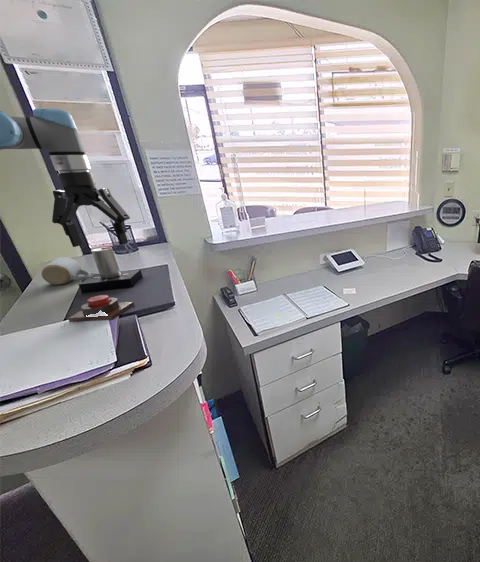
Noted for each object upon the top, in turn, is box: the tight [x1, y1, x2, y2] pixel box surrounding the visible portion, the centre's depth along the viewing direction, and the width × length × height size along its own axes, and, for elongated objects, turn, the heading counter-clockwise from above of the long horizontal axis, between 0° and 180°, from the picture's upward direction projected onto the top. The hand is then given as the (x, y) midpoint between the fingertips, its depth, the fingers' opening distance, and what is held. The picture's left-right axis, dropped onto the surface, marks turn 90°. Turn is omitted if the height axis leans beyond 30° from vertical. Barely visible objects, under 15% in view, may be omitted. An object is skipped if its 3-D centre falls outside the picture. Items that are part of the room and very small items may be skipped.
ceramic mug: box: [41, 256, 92, 286], centre depth 103 cm, size 11×8×8 cm
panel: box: [78, 268, 144, 294], centre depth 99 cm, size 13×10×3 cm
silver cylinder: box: [90, 246, 121, 279], centre depth 97 cm, size 5×5×9 cm
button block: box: [67, 296, 136, 323], centre depth 78 cm, size 10×8×4 cm
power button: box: [86, 294, 110, 307], centre depth 77 cm, size 4×4×2 cm
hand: (101, 244), depth 95 cm, fingers open, 13 cm apart
